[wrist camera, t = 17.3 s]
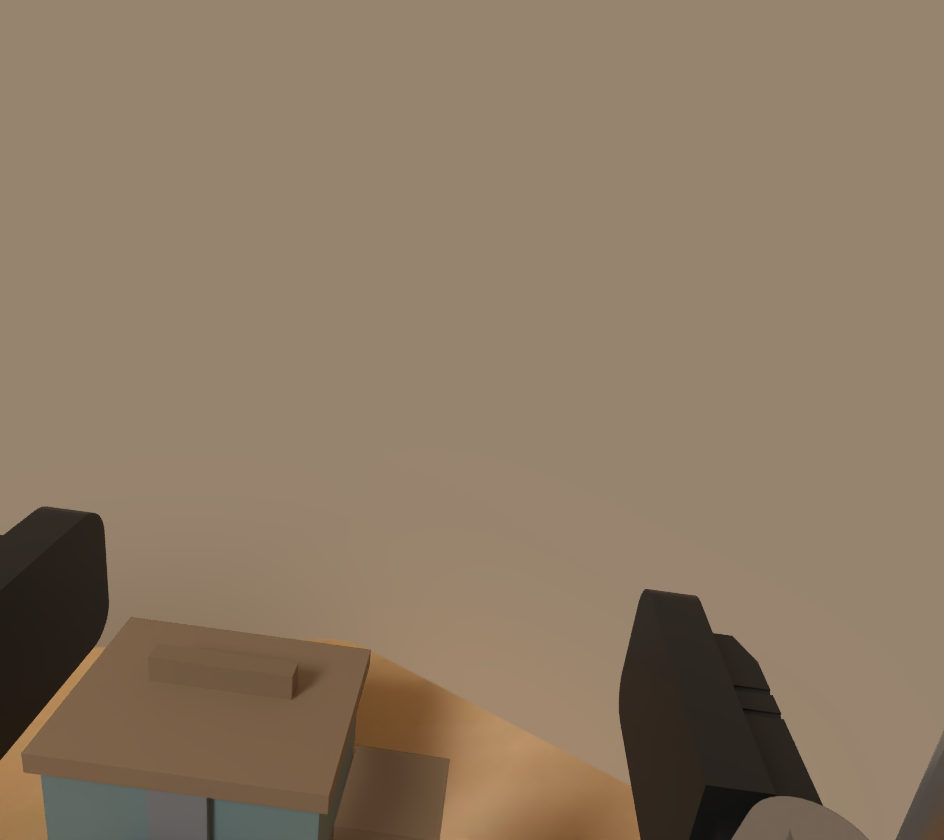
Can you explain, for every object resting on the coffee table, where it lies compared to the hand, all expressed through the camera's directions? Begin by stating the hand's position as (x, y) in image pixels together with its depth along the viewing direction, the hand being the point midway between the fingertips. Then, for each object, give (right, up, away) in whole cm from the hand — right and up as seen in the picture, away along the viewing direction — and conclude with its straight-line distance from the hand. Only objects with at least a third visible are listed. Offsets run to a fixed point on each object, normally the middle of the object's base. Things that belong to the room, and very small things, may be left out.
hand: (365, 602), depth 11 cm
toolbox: (-13, -20, +33) cm, 41 cm away
